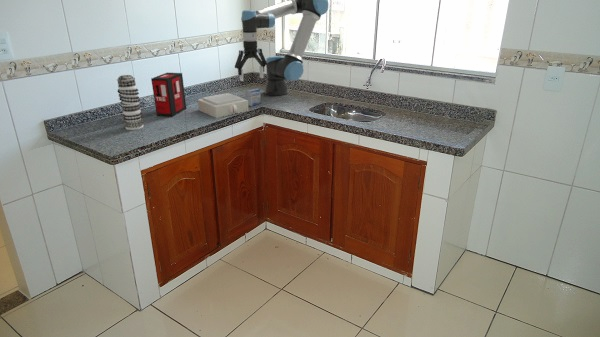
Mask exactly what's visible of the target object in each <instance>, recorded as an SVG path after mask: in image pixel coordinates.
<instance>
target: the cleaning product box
mask: <svg viewBox="0 0 600 337" xmlns="http://www.w3.org/2000/svg"><path fill="white" fill-rule="evenodd" d="M151 85H152V91H153V92H152V93H153V97H154V107H155V111H156V117H167V118H174V117H175V116H177V115H178V114H180V113H182V112H183V111H185V110H187V103H186V93H185V85H184V77H183V72H165V73H163V74H160V75H157V76H155V77H151Z"/></svg>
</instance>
